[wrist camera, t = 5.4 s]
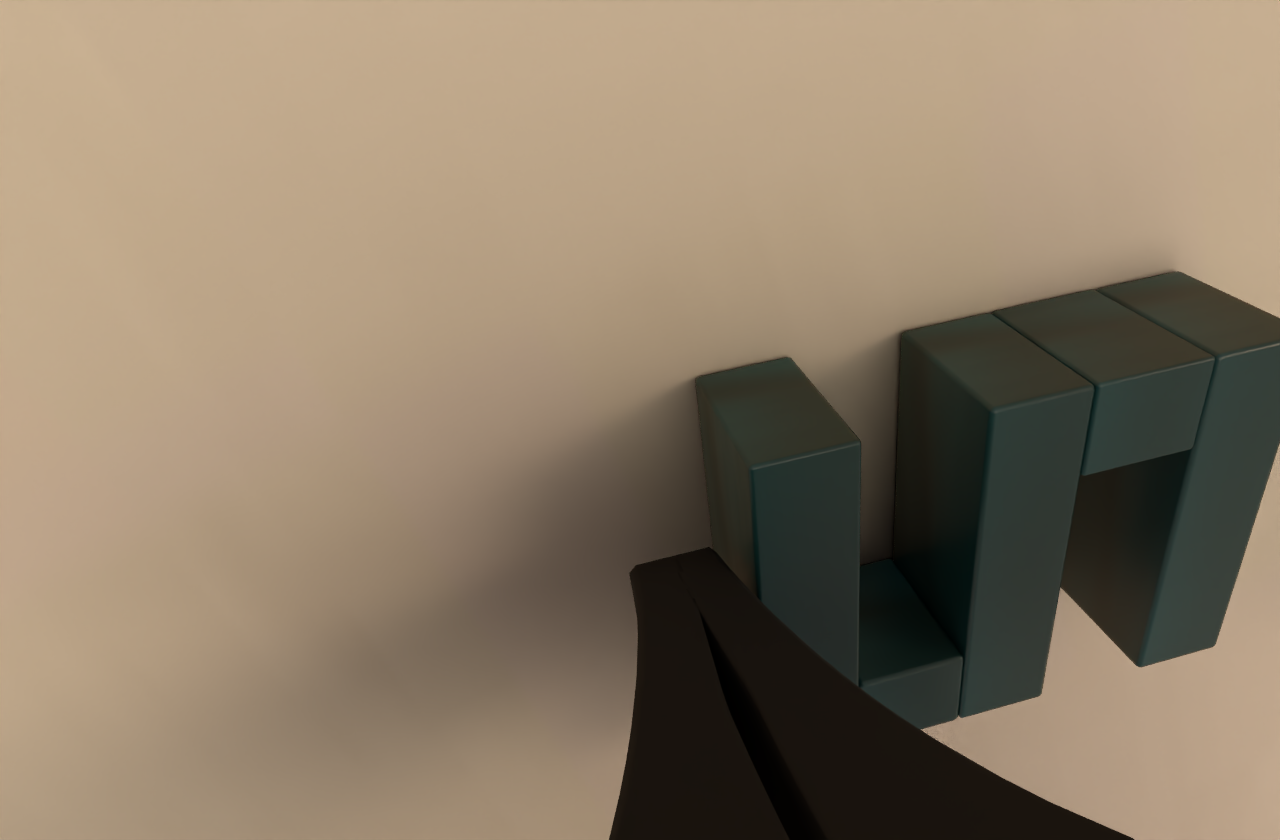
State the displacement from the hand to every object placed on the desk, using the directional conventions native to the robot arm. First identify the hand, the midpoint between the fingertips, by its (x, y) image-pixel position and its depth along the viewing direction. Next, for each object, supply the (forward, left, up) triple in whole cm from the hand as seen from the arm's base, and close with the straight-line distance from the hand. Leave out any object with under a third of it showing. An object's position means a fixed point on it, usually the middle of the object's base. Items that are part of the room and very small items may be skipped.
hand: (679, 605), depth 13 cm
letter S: (+3, -3, -1) cm, 5 cm away
